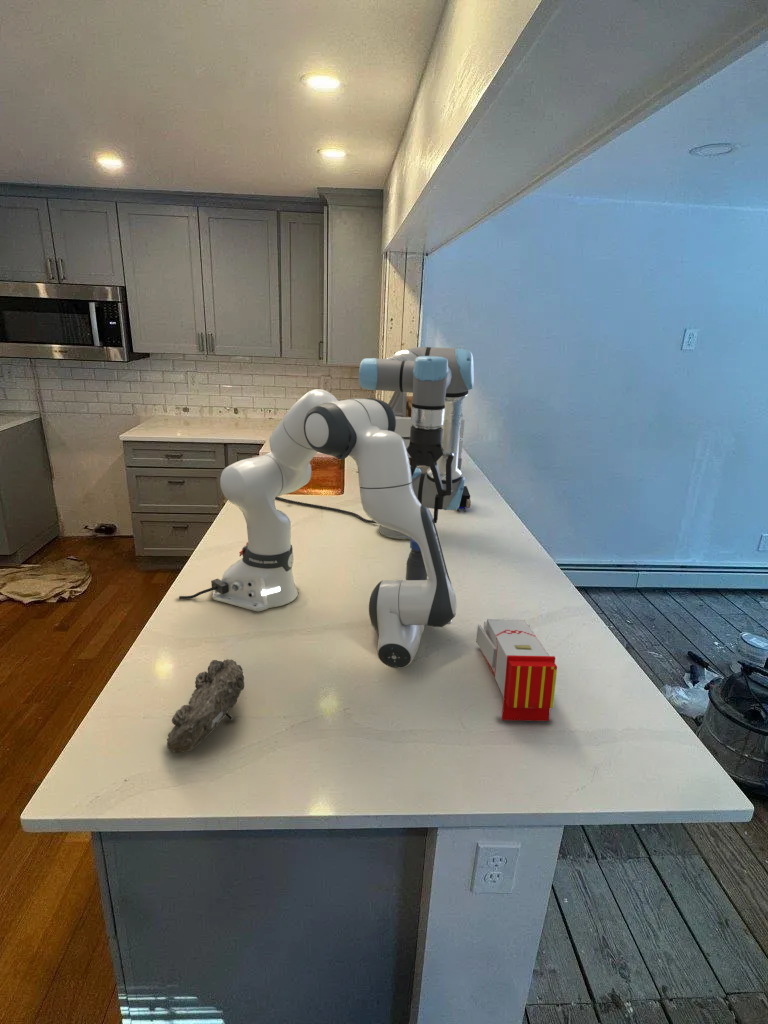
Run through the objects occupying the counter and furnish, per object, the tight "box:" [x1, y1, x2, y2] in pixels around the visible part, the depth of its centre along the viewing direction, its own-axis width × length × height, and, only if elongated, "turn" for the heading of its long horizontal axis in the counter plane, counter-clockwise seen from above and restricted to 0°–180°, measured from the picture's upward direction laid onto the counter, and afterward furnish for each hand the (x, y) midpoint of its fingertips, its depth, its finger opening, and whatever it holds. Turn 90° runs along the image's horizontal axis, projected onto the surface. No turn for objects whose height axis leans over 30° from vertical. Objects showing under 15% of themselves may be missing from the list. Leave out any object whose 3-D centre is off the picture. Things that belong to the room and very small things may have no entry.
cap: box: [409, 538, 421, 551], centre depth 140 cm, size 4×4×2 cm
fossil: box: [166, 658, 245, 754], centre depth 106 cm, size 22×10×15 cm
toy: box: [475, 618, 558, 722], centre depth 122 cm, size 12×13×30 cm
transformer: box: [387, 391, 465, 472], centre depth 268 cm, size 34×33×41 cm
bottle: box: [405, 548, 428, 580], centre depth 144 cm, size 5×5×21 cm
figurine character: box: [456, 485, 472, 513], centre depth 228 cm, size 7×8×15 cm
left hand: (415, 592), depth 146 cm, fingers closed on bottle, 5 cm apart
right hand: (420, 519), depth 138 cm, fingers open, 7 cm apart
